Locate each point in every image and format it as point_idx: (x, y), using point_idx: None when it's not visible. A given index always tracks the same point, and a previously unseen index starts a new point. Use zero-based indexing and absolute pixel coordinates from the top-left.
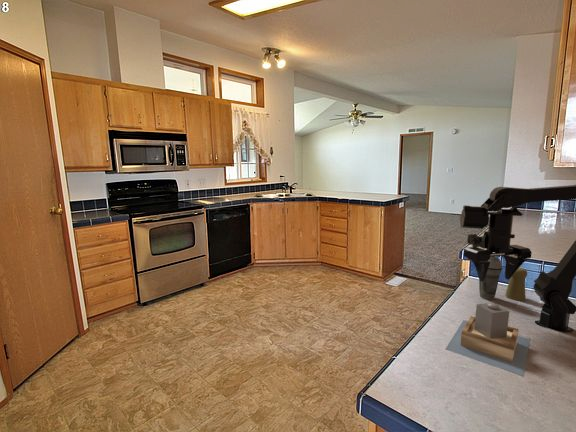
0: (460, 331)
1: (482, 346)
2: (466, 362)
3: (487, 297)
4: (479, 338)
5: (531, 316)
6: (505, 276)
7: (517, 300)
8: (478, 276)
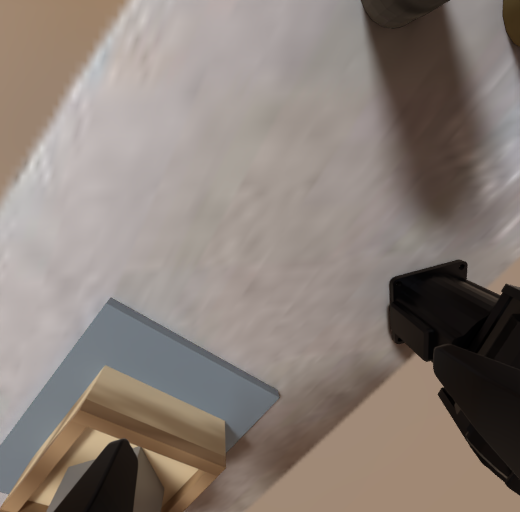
0: (58, 388)
1: None
2: None
3: (380, 15)
4: None
5: (424, 226)
6: (452, 361)
7: (517, 45)
8: (68, 496)
